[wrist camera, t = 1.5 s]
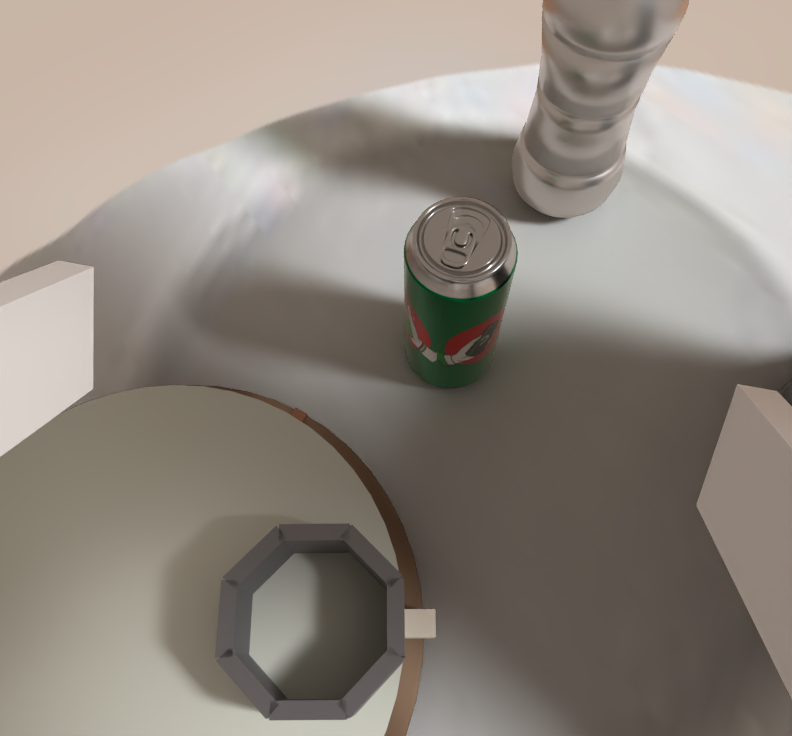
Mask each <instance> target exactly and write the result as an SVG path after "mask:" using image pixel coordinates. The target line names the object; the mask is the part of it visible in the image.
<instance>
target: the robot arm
mask: <svg viewBox="0 0 792 736" xmlns="http://www.w3.org/2000/svg"><path fill="white" fill-rule="evenodd" d="M93 343H94V267H93V266H87V265H82V264H76V263H71V262H65V261H60V260H58V261H55V262H53V263H50V264H47V265H45V266H42V267H39V268H37V269H34V270H32V271H29V272H26V273H24V274H21V275H18V276H16V277H13V278H10V279H8V280H5V281H2V282H0V457H1V456H2V455H3V454H5V453H6V452H8V451H9V450H10V449H12V448H13V447H14V446H16V445H17V444H19V443H20V442H21V441H23V440H24V439H25V438H27V437H28V436H29V435H31V434H32V433H34V432H35V431H36V430H38V429H39V428H40V427H42V426H43V425H45V424H46V423H47V422H49V421H50V420H51V419H53V418H54V417H55V416H57V415H58V414H60V413H61V412H62V411H64V410H65V409H66V408H68V407H69V406H71V405H72V404H73V403H75V402H76V401H77V400H79V399H80V398H81V397H83V396H84V395H86V394H87V393H88V392H90V391H91V390H92V389H93ZM696 506H697V508H698V510H699V512H700V514H701V516H702V518H703V520H704V522H705V524H706V526H707V528H708V530H709V532H710V534H711V536H712V538H713V541H714V543H715V545H716V547H717V549H718V551H719V553H720V555H721V557H722V559H723V561H724V563H725V565H726V567H727V569H728V571H729V573H730V575H731V577H732V579H733V581H734V583H735V585H736V587H737V589H738V591H739V593H740V595H741V597H742V600H743V602H744V604H745V606H746V608H747V610H748V612H749V614H750V616H751V618H752V620H753V622H754V624H755V626H756V628H757V630H758V632H759V634H760V636H761V638H762V640H763V642H764V644H765V646H766V648H767V650H768V652H769V654H770V656H771V659H772V661H773V663H774V665H775V667H776V669H777V671H778V673H779V675H780V677H781V679H782V681H783V683H784V685H785V687H786V689H787V691H788V693H789V695H790V697H791V699H792V380H791V381H790V382H789V383H787V384H786V385H785V386H784V387H783V388H782V389H781V390H780V391H779V392H777V391H774V390H768V389H763V388H757V387H752V386H746V385H741V384H737V386H736V389H735V392H734V395H733V398H732V401H731V404H730V407H729V410H728V413H727V416H726V419H725V422H724V425H723V428H722V430H721V433H720V436H719V439H718V442H717V445H716V448H715V451H714V454H713V457H712V460H711V463H710V466H709V469H708V472H707V475H706V478H705V481H704V483H703V486H702V489H701V492H700V495H699V498H698V501H697V504H696Z"/></svg>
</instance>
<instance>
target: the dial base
mask: <svg viewBox="0 0 792 736" xmlns="http://www.w3.org/2000/svg"><path fill="white" fill-rule="evenodd" d="M186 386H197V385H186ZM205 387H210V388H216V389H222V390H227V391H233V392H236V393H239V394H242V395H246V396H249V397H252V398H255V399H258V400H261V401H263V402H265V403H268V404H270V405H272V406H274V407H276V408H278V409H281V410H283V411H285V412H287V413H288V414H290V415H291V416H293V417H295V418H296V419H298V420H299V421H301V422H302V423H304V424H306V425H307V426H309V427H310V428H312V429H313V430H314V431H315V432H316V433H317V434H319V435H320V436H321V437H322V438H323V439H325V440H326V441H327V442H328V443H329V444H330V445H332V446H333V447H334V448H335V449H336V451H337V452H338V453H339V454H340V455H341V456H342V457H343V458H344V459H345V461H346V462H347V463H348V464H349V465H350V466H351V467H352V468H353V470H354V471H355V472H356V474H357V475H358V477H359V478H360V480H361V481H362V483H363V484H364V486H365V487H366V489H367V490H368V492H369V493H370V495H371V497H372V499H373V501H374V503H375V505H376V507H377V509H378V511H379V513H380V515H381V517H382V519H383V521H384V523H385V525H386V528H387V531H388V534H389V537H390V540H391V543H392V546H393V549H394V552H395V555H396V560H397V565H398V570H399V572H400V573H401V574H402V576H403V578H404V604H405V609H422V597H421V588H420V583H419V579H418V574H417V569H416V565H415V560H414V556H413V553H412V550H411V547H410V544H409V542H408V539H407V536H406V533H405V530H404V527H403V525H402V523H401V521H400V519H399V517H398V515H397V513H396V511H395V509H394V507H393V505H392V503H391V501H390V499H389V497H388V495H387V494H386V493H385V491H384V490H383V488H382V487H381V485H380V484H379V482H378V481H377V479H376V478H375V476H374V475H373V474H372V472H371V471H370V470H369V468H368V467H367V466H366V465H365V464H364V463H363V462H362V461H361V460H360V458H359V457H358V456H357V455H356V454H355V453H354V452H353V451H352V450H351V449H350V448H349V447H348V446H347V445H346V444H345V443H344V442H342V441H341V440H340V439H339V438H338V437H336V436H335V435H334V434H333V433H332V432H330V431H329V430H328V429H327V428H325V427H324V426H322V425H321V424H319V423H317V422H316V421H314V420H313V419H311V418H310V417H308V416H307V414H306V413H304V412H303V411H301V410H299V409H297V408H295V409H293V408H291V407H289V406H287V405H284V404H282V403H280V402H278V401H276V400H273V399H269V398H266V397H263V396H260V395H257V394H253V393H250V392H247V391H241V390H235V389H230V388H224V387H218V386H205ZM403 660H404V662H403V664H402V670H401V676H400V682H399V687H398V693H397V697H396V701H395V704H394V707H393V710H392V714H391V717H390V720H389V724H388V727H387V730H386V732H385V735H384V736H406V734H407V730H408V727H409V723H410V720H411V716H412V713H413V710H414V706H415V703H416V699H417V693H418V687H419V680H420V674H421V668H422V661H423V638H416V639H405V658H403Z"/></svg>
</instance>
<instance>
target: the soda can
mask: <svg viewBox="0 0 792 736" xmlns="http://www.w3.org/2000/svg"><path fill="white" fill-rule="evenodd" d="M517 255H518V251H517V244H516V241H515V238H514V236H513V234H512V232H511V230H510V227H509V225H508V223H507V221H506V219H505V218H504V217H503V215H502V214H501V213H500V212H499V211H498V210H497V209H496V208H494V207H493V206H492V205H490V204H488V203H486V202H484V201H481V200H479V199H475V198H470V197H453V198H447V199H444V200H441V201H439V202H437V203H435V204H433V205H431V206H430V207H428V208H427V209H426V210H425V211H424V212H423V213H422V214H421V216H420V217H419V218H418V220H417V221H416V222H415V223H414V225H413V226H412V227H411V229H410V231H409V233H408V234H407V237H406V240H405V245H404V294H405V352H406V357H407V360H408V362H409V364H410V366H411V368H412V369H413V370H414V372H415V373H416V374H417V375H418V376H419V377H420V378H422V379H423V380H425V381H426V382H428V383H430V384H433V385H435V386H439V387H445V388H457V387H462V386H465V385H468V384H470V383H472V382H474V381H476V380H477V379H478V378H480V377H481V376H482V375H483V374H484V373H485V372H486V370H487V369H488V367H489V365H490V363H491V361H492V357H493V354H494V350H495V346H496V342H497V338H498V334H499V330H500V326H501V322H502V318H503V314H504V310H505V306H506V303H507V299H508V295H509V291H510V287H511V283H512V279H513V275H514V271H515V267H516V263H517Z"/></svg>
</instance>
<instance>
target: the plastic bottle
mask: <svg viewBox="0 0 792 736" xmlns="http://www.w3.org/2000/svg"><path fill="white" fill-rule="evenodd" d="M688 4H689V0H543V5H542V7H543V12H542V56H541V62H540V70H539V77H538V85H537V90H536V93H535V97H534V100H533V103H532V106H531V109H530V112H529V116H528V119H527V122H526V123H525V125H524V127H523V129H522V131H521V133H520V135H519V138H518V140H517V143H516V146H515V148H514V151H513V155H512V172H513V182H514V185H515V188H516V190H517V192H518V194H519V195H520V197H521V198H522V199H523V200H524V201H525V202H526V203H527V204H528V205H529V206H531V207H532V208H534V209H535V210H536V211H538V212H540V213H543V214H545V215H548V216H552V217H559V218H567V217H574V216H579V215H584V214H586V213H589V212H591V211H593V210H595V209H596V208H598V207H599V206H601V205H602V204H603V203H604V202H605V201H606V200H607V198H608V197H609V195H610V194H611V193H612V191H613V190H614V189H615V187H616V186H617V184H618V182H619V181H620V178H621V175H622V172H623V167H624V162H625V154H626V141H627V137H628V134H629V130H630V126H631V122H632V118H633V114H634V111H635V108H636V106H637V104H638V102H639V99H640V96H641V94H642V93H643V91H644V88H645V86H646V84H647V82H648V80H649V77H650V75H651V73H652V71H653V69H654V68H655V66H656V64H657V63H658V61H659V59H660V58H661V56H662V54H663V53H664V51H665V49H666V48H667V46H668V44H669V43H670V41H671V39H672V38H673V36H674V34H675V32H676V31H677V30H678V28H679V26H680V23H681V21H682V19H683V17H684V15H685V13H686V10H687V7H688Z"/></svg>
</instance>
